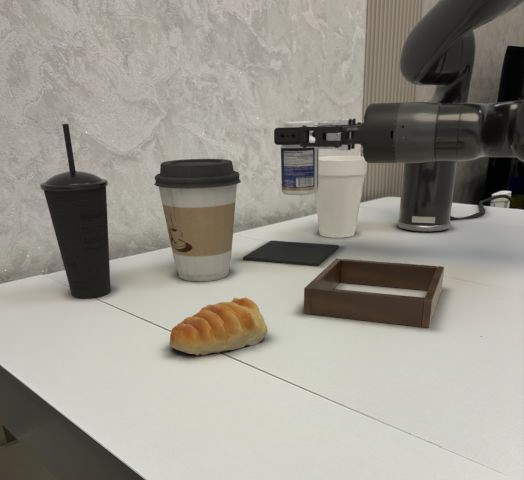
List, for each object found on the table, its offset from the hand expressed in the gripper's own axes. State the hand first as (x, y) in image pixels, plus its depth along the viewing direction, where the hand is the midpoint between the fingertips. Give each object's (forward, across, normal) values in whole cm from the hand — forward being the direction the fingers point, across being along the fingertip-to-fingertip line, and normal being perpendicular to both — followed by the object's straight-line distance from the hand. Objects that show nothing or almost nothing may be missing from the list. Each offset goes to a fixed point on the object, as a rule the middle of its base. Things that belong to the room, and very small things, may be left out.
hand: (282, 135), depth 78 cm
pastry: (-6, +34, +18) cm, 39 cm away
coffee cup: (+7, +13, +18) cm, 23 cm away
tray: (-18, +17, +18) cm, 30 cm away
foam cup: (-4, -18, +18) cm, 25 cm away
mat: (-1, -2, +18) cm, 18 cm away
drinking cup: (+17, +25, +18) cm, 35 cm away
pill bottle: (-3, 0, +8) cm, 9 cm away
